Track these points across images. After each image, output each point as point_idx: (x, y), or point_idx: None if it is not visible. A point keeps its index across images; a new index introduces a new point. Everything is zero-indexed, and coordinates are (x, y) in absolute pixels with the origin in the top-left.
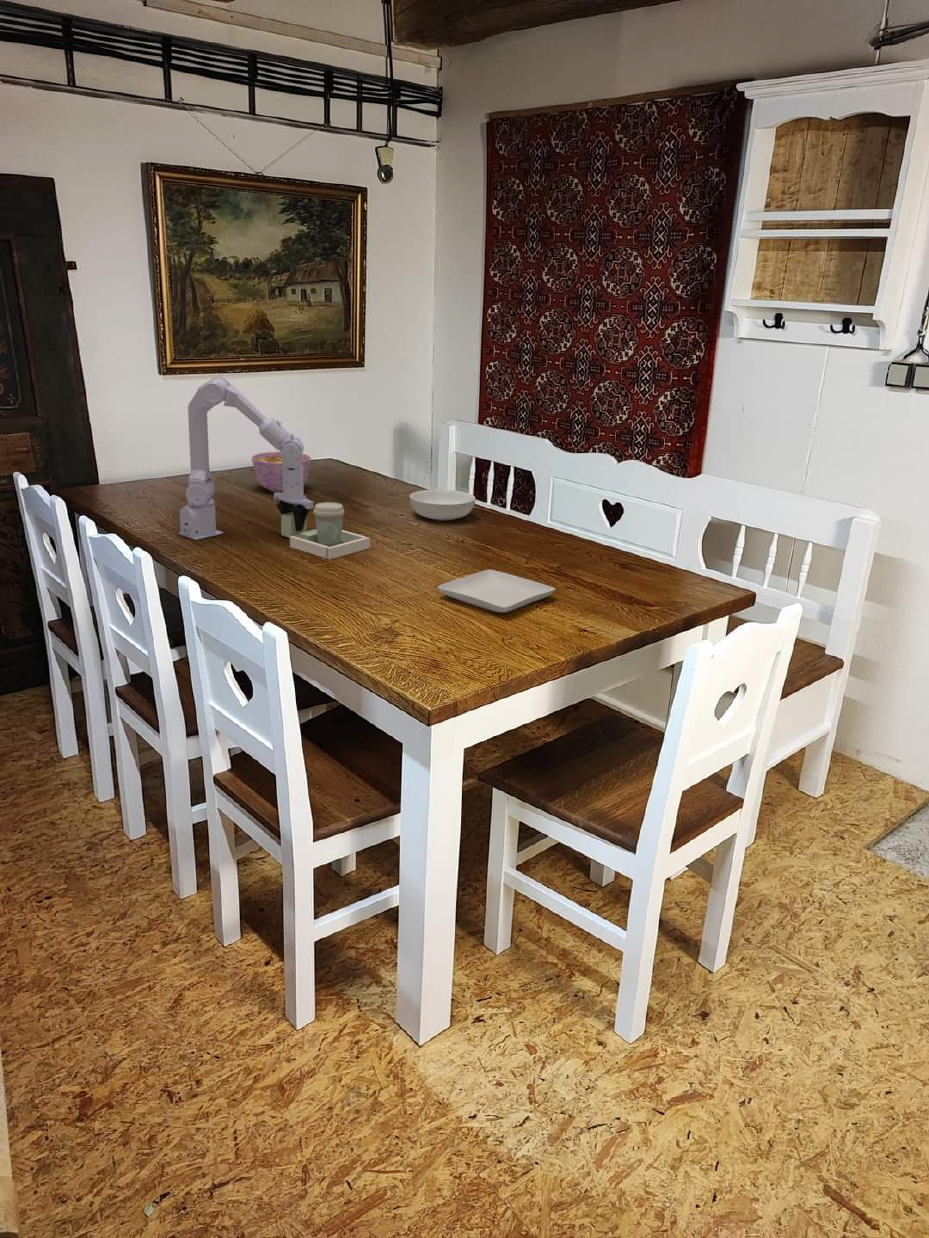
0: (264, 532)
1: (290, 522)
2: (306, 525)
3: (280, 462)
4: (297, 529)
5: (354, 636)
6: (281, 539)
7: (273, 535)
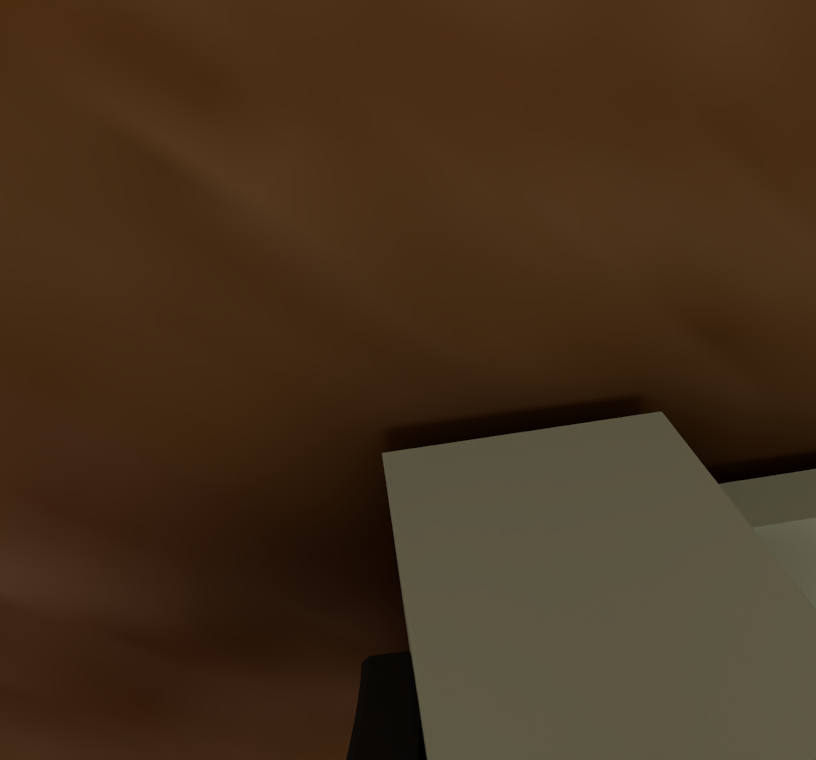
0: (36, 745)
1: None
2: (760, 541)
3: None
4: None
5: None
6: None
7: (259, 720)
